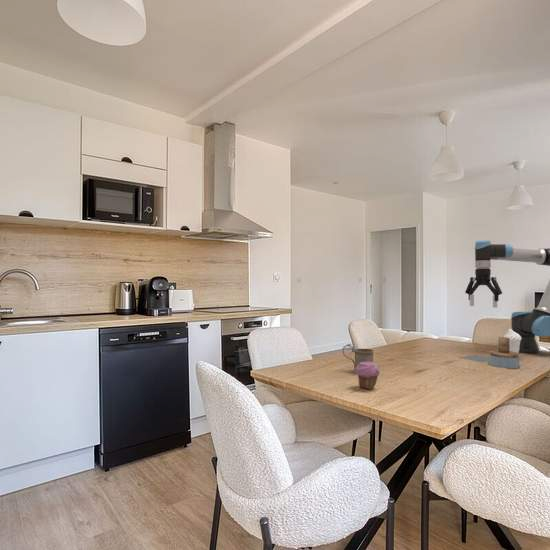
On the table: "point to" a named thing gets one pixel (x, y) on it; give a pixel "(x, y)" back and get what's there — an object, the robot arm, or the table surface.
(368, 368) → the cupcake
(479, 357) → the mat
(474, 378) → the table surface
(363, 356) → the mug
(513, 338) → the soft serve ice cream cone
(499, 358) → the bowl
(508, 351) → the lid
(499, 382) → the table surface
